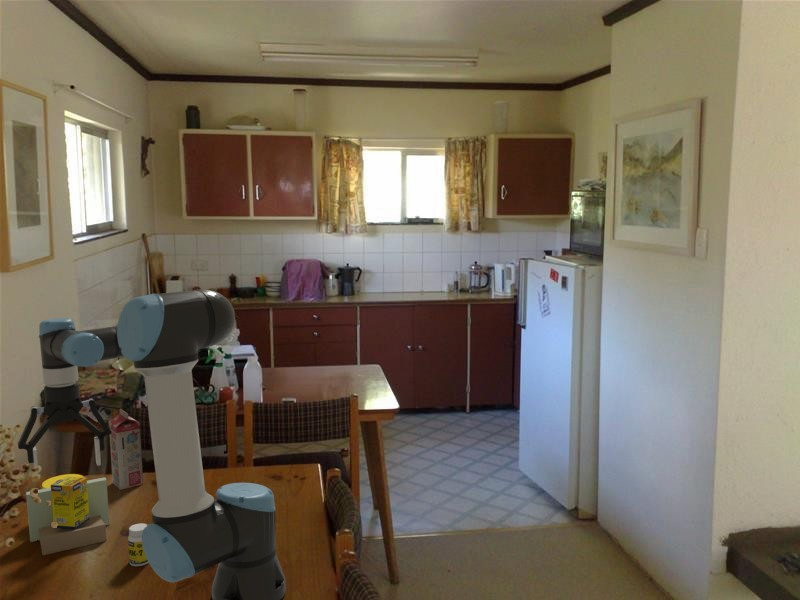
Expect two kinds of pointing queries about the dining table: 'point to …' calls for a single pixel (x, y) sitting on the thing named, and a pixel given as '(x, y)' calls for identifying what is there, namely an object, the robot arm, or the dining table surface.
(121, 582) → the dining table surface
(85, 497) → the supplement box
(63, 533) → the letter holder
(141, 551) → the supplement bottle
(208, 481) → the dining table surface
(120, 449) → the juice carton
